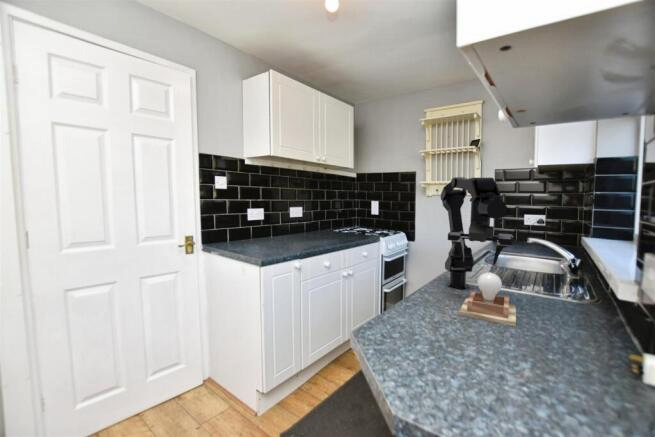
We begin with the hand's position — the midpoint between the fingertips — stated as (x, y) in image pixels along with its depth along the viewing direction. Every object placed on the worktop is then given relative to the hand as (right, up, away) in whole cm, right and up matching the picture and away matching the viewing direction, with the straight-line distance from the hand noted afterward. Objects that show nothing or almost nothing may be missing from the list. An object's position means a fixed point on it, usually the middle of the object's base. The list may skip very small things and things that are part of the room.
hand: (478, 263), depth 98 cm
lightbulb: (-1, -13, -9) cm, 15 cm away
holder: (-1, -14, -9) cm, 16 cm away
